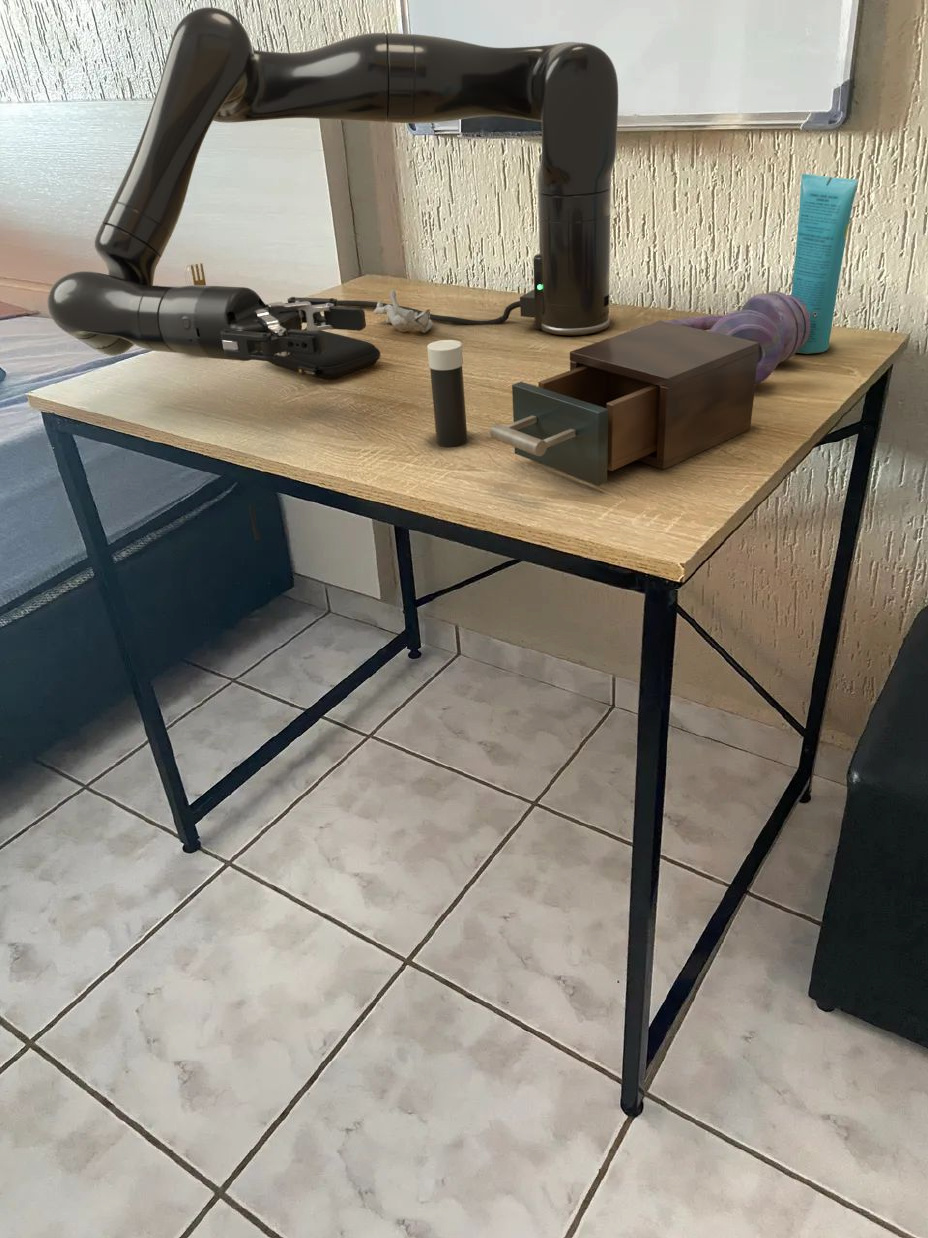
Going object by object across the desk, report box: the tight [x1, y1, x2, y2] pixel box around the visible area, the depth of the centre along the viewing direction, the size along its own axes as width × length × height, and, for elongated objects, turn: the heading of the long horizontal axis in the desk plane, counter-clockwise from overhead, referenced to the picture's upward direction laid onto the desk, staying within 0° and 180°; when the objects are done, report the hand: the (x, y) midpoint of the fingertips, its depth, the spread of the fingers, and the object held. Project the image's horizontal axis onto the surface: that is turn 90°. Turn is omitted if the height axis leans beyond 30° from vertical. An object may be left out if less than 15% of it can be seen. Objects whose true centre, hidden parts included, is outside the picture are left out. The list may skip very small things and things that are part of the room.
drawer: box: [489, 365, 660, 487], centre depth 88 cm, size 17×11×7 cm, turn 130°
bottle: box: [426, 339, 468, 448], centre depth 95 cm, size 3×3×10 cm
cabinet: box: [569, 320, 759, 470], centre depth 93 cm, size 13×12×9 cm
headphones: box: [631, 290, 811, 386], centre depth 109 cm, size 18×8×20 cm
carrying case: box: [267, 330, 381, 381], centre depth 121 cm, size 11×3×15 cm
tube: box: [791, 173, 860, 355], centre depth 109 cm, size 7×5×19 cm, turn 39°
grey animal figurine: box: [373, 289, 434, 334], centre depth 131 cm, size 8×5×12 cm
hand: (343, 331), depth 96 cm, fingers open, 8 cm apart
